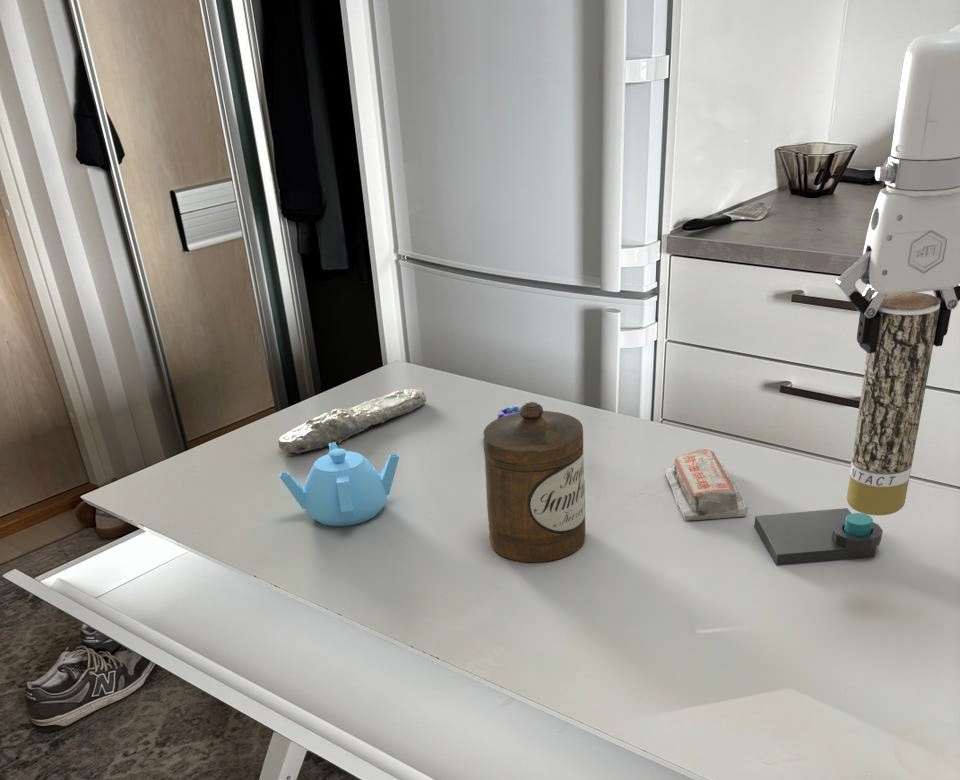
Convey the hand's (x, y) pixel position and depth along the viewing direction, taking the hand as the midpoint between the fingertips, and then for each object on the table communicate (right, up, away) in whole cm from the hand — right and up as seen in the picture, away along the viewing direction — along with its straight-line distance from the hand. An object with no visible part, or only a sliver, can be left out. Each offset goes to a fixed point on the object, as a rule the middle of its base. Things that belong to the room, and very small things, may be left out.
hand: (900, 344), depth 110 cm
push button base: (+2, -19, +34) cm, 39 cm away
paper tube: (+2, -17, +12) cm, 20 cm away
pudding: (-41, +5, +75) cm, 85 cm away
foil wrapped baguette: (-72, +9, +85) cm, 112 cm away
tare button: (+7, -18, +30) cm, 35 cm away
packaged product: (-11, -10, +49) cm, 52 cm away
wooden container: (-38, -18, +42) cm, 59 cm away
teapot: (-70, -11, +55) cm, 90 cm away
